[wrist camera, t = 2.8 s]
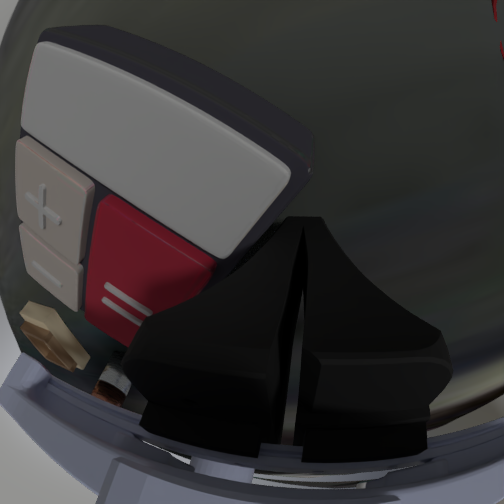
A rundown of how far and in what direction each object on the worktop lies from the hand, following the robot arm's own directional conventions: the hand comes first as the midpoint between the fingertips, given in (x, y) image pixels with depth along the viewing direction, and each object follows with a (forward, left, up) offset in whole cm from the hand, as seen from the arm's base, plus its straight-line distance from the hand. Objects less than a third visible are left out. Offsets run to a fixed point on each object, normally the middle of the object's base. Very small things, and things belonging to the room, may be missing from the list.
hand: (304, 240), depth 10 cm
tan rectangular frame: (-13, +26, -1) cm, 29 cm away
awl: (-15, +16, -1) cm, 22 cm away
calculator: (+1, +8, -2) cm, 9 cm away
